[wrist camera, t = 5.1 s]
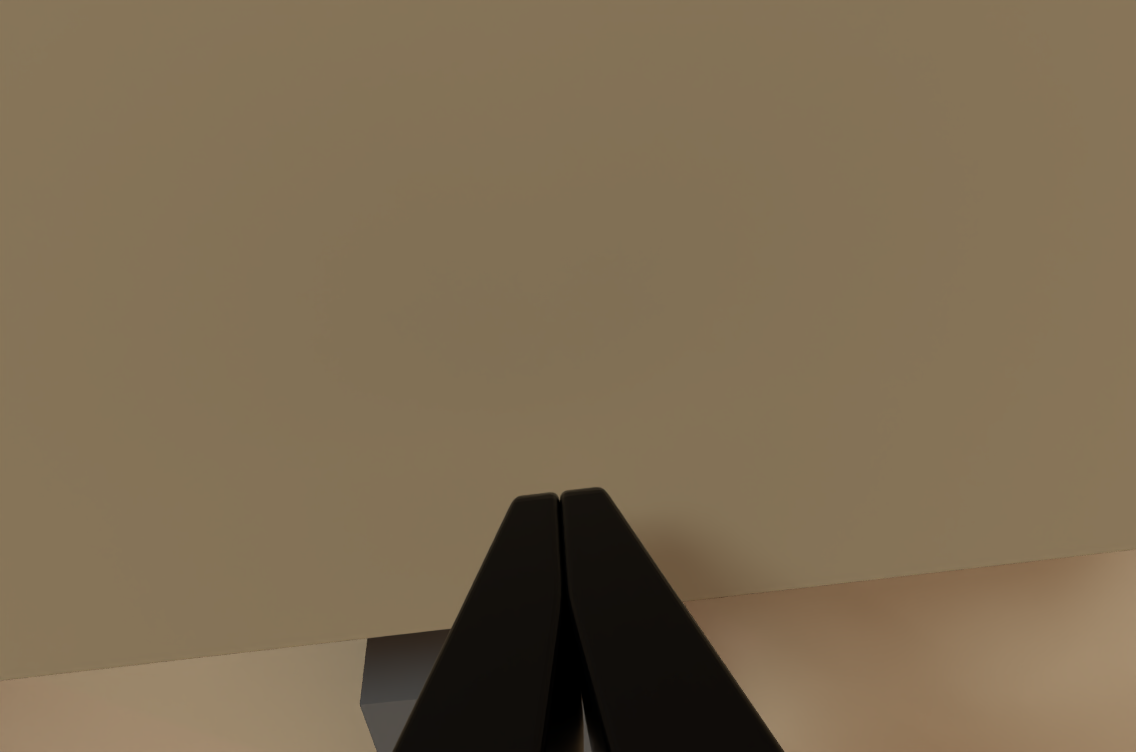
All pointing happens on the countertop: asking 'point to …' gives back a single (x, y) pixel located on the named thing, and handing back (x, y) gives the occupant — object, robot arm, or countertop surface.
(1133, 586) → the countertop surface
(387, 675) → the grey rectangular bar
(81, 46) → the carton lid
